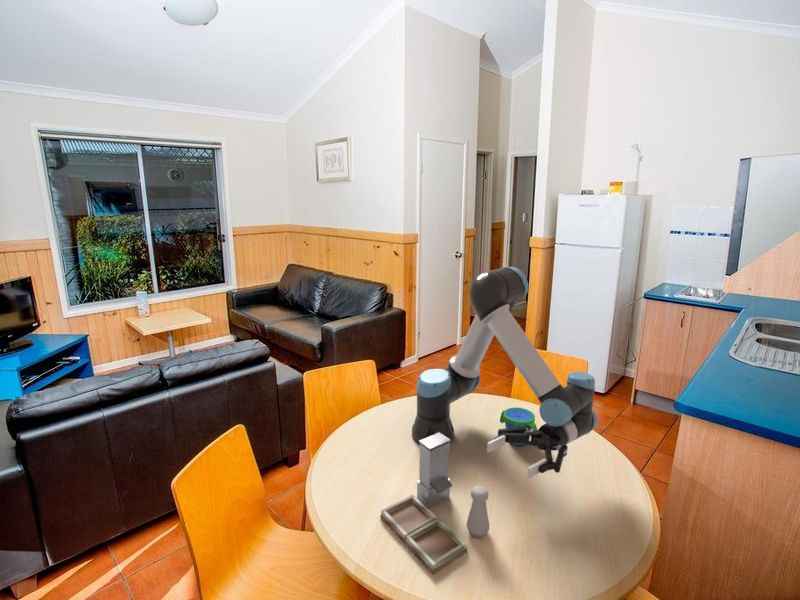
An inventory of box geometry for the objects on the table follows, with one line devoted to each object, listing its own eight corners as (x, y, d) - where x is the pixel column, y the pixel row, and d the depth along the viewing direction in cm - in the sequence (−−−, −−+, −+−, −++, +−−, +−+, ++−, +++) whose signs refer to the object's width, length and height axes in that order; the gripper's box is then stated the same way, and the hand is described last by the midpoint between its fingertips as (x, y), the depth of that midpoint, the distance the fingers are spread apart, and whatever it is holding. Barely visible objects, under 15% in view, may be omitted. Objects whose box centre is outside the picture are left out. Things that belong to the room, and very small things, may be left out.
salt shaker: (488, 543, 110) (491, 499, 107) (465, 539, 111) (467, 495, 108) (488, 526, 116) (491, 483, 112) (466, 522, 117) (468, 480, 113)
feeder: (417, 499, 125) (417, 440, 121) (438, 488, 130) (439, 431, 125) (433, 514, 120) (435, 454, 115) (455, 502, 124) (458, 443, 119)
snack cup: (491, 433, 159) (493, 407, 156) (514, 426, 163) (516, 401, 161) (520, 456, 145) (522, 428, 143) (544, 448, 150) (547, 421, 147)
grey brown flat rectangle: (380, 517, 118) (380, 510, 118) (412, 501, 125) (412, 494, 124) (432, 574, 101) (432, 566, 101) (467, 552, 107) (467, 544, 107)
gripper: (596, 466, 117) (546, 498, 105) (521, 426, 137) (472, 450, 125) (599, 441, 115) (549, 471, 104) (523, 404, 135) (473, 426, 123)
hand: (507, 459), depth 114 cm, fingers open, 13 cm apart
